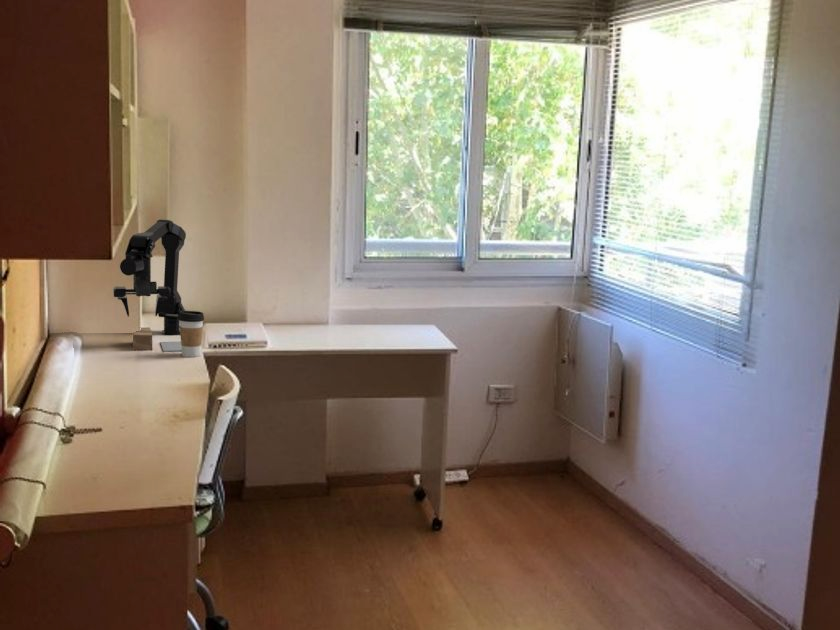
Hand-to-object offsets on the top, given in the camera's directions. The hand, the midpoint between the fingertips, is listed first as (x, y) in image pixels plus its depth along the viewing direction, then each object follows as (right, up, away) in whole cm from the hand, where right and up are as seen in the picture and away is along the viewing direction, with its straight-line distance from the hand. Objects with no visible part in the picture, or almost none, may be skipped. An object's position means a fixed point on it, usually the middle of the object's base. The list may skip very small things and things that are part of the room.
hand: (142, 316), depth 313 cm
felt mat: (+10, -11, +4) cm, 15 cm away
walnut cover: (-1, -11, +2) cm, 11 cm away
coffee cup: (+19, -13, -7) cm, 24 cm away
